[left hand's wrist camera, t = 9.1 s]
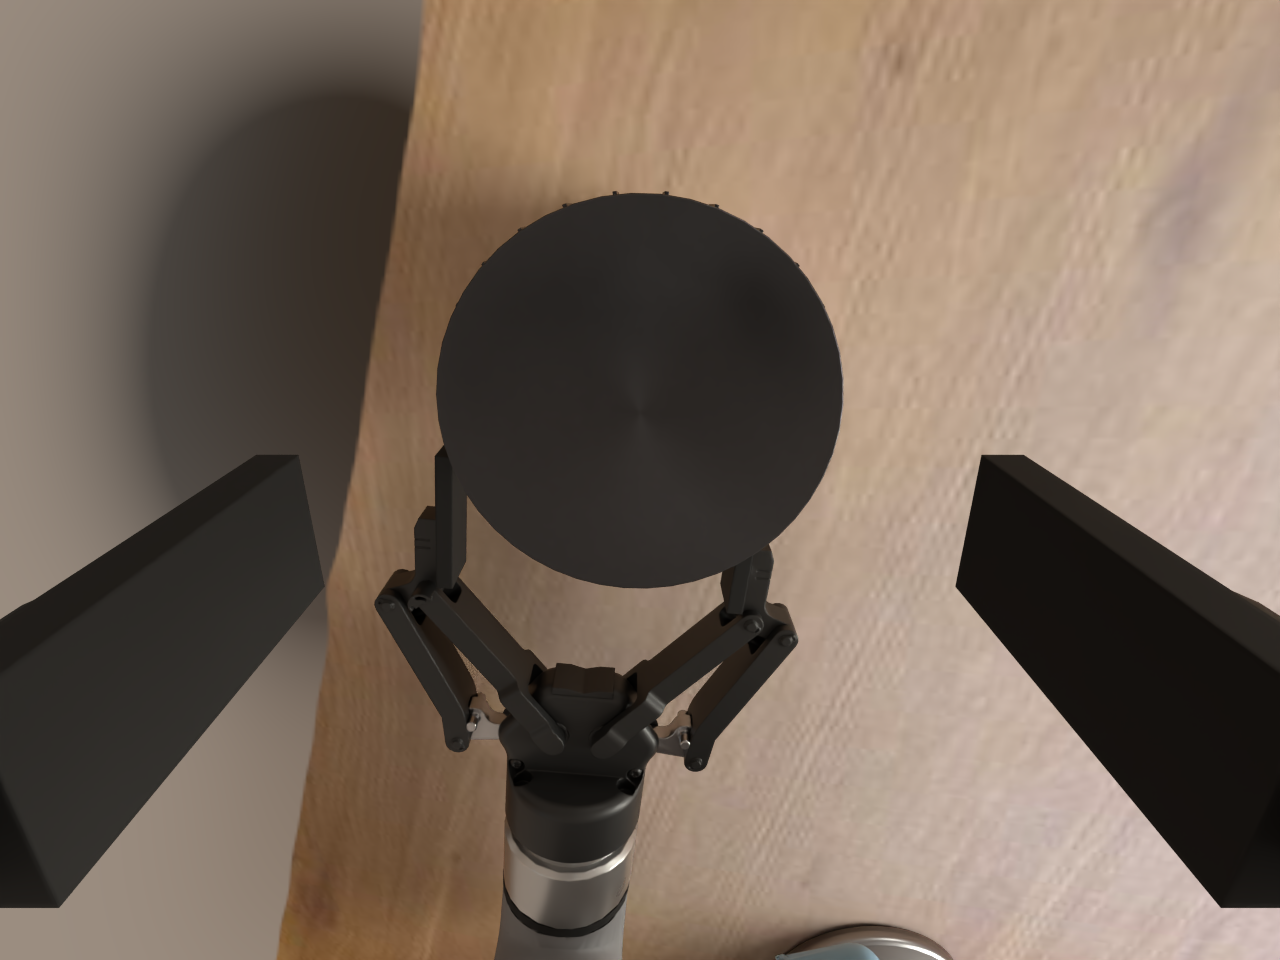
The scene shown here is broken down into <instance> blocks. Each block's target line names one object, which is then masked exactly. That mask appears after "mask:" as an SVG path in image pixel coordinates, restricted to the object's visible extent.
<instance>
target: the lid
mask: <svg viewBox="0 0 1280 960" xmlns="http://www.w3.org/2000/svg"><path fill="white" fill-rule="evenodd" d="M562 206H563V208H562V209H559V210H557V211H555V212H552V213H550V214H548V215H545V216H544V217H542V218H540V219H539V220H537V221H535V222H534V223H532V224H530V225H529V226H527V227H522V228H520V229H518V233H517V234H515V235H514V236H513V237H512V238H511V239H509V240H508V241H507V242H506V243H504V244H503V245H502V246H501V247H499V248H498V249H497V250H496V251H495V253H494V254H493V255H492V256H491V257H490V258H489V259H488V260H487V261H485V262H483V263H482V264H481V265H482V267H481V268H480V269H479V270H478V272H477V273H476V274H475V276H474V277H473V279H472V280H471V282H470V283H469V285H468V286H467V287H466V289H465V290H464V292H463V294H462V296H461V298H460V300H459V302H458V303H457V304H456V308H455V310H454V312H453V314H452V316H451V318H450V321H449V324H448V327H447V330H446V333H445V336H444V339H443V342H442V347H441V352H440V358H439V363H438V368H437V389H436V398H437V409H438V420H439V425H440V429H441V434H442V438H443V442H444V446H445V449H446V452H447V454H448V457H449V460H450V463H451V465H452V468H453V470H454V472H455V474H456V476H457V478H458V480H459V482H460V484H461V485H462V487H463V489H464V491H465V493H466V494H467V495H468V497H469V498H470V500H471V501H472V503H473V504H474V506H475V507H476V508H477V510H478V511H479V512H480V514H481V515H482V516H483V517H484V518H485V519H486V520H487V521H488V522H489V524H490V525H491V526H492V527H493V528H494V529H495V530H496V531H497V532H498V533H499V534H501V535H502V536H503V537H504V538H505V539H506V540H507V541H509V542H510V543H511V544H512V545H513V546H515V547H516V548H518V549H519V550H520V551H522V552H523V553H525V554H526V555H528V556H529V557H531V558H532V559H534V560H536V561H538V562H540V563H542V564H543V565H545V566H547V567H549V568H551V569H553V570H555V571H558V572H560V573H563V574H566V575H568V576H571V577H574V578H576V579H580V580H584V581H588V582H592V583H595V584H599V585H606V586H614V587H621V588H657V587H668V586H674V585H679V584H684V583H689V582H694V581H697V580H700V579H703V578H706V577H709V576H712V575H715V574H718V573H720V572H722V571H724V570H726V569H728V568H731V567H733V566H735V565H737V564H739V563H741V562H742V561H744V560H746V559H747V558H749V557H750V556H752V555H754V554H755V553H757V552H759V551H760V550H761V549H763V548H764V547H765V546H766V545H768V544H769V543H770V542H771V541H773V540H774V539H775V538H776V537H778V536H779V535H780V534H781V533H782V532H783V531H784V530H785V529H786V528H787V527H788V526H789V525H790V524H791V523H792V522H793V521H794V520H795V518H796V517H797V516H798V515H799V513H800V512H801V511H802V509H803V508H804V507H805V505H806V504H807V503H808V502H809V500H810V499H811V497H812V496H813V494H814V492H815V490H816V489H817V487H818V485H819V484H820V482H821V480H822V478H823V476H824V474H825V472H826V469H827V467H828V465H829V462H830V460H831V458H832V455H833V452H834V449H835V445H836V441H837V438H838V434H839V431H840V424H841V417H842V410H843V372H842V364H841V357H840V351H839V347H838V344H837V340H836V336H835V333H834V329H833V326H832V324H831V321H830V319H829V317H828V314H827V312H826V310H825V306H824V304H823V303H822V301H821V299H820V298H819V296H818V294H817V293H816V291H815V289H814V288H813V286H812V284H811V283H810V281H809V280H808V278H807V277H806V276H805V274H804V273H803V272H802V271H801V269H800V268H799V264H798V263H796V262H794V261H793V260H792V259H791V257H790V256H789V255H788V254H787V253H785V252H784V251H783V250H782V249H781V248H780V247H779V246H778V245H777V244H776V243H774V242H773V241H772V240H771V239H770V238H769V237H768V236H766V235H765V234H763V230H762V229H759V228H754V227H753V226H751V225H750V224H748V223H747V222H746V221H744V220H742V219H740V218H738V217H736V216H734V215H732V214H730V213H727V212H725V211H723V210H721V209H719V208H718V207H719V205H717V204H709V205H707V204H704V203H701V202H698V201H695V200H692V199H688V198H682V197H676V196H670V195H669V192H667V191H665V192H663V194H648V193H627V194H619V192H617V191H613V195H609V196H601V197H597V198H593V199H590V200H586V201H582V202H578V203H574V204H563V205H562Z"/></svg>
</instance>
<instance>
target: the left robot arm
mask: <svg viewBox="0 0 1280 960" xmlns="http://www.w3.org/2000/svg"><path fill="white" fill-rule="evenodd" d="M955 587H956V588H957V589H958V590H959V591H960V593H961V594H962V595H963V596H964V597H965V599H966V600H967V601H968V602H969V603H970V605H971V606H972V607H973V608H974V610H975V611H976V612H977V613H978V614H979V616H980V617H981V618H982V619H983V620H984V622H985V623H986V624H987V625H988V626H989V628H990V629H991V630H992V631H993V633H994V634H995V635H996V636H997V637H998V639H999V640H1000V641H1001V642H1002V643H1003V645H1004V646H1005V647H1006V648H1007V649H1008V651H1009V652H1010V653H1011V654H1012V656H1013V657H1014V658H1015V659H1016V660H1017V662H1018V663H1019V664H1020V665H1021V666H1022V668H1023V669H1024V670H1025V671H1026V672H1027V674H1028V675H1029V676H1030V677H1031V679H1032V680H1033V681H1034V682H1035V683H1036V685H1037V686H1038V687H1039V688H1040V689H1041V691H1042V692H1043V693H1044V694H1045V695H1046V697H1047V698H1048V699H1049V700H1050V702H1051V703H1052V704H1053V705H1054V706H1055V708H1056V709H1057V710H1058V711H1059V712H1060V714H1061V715H1062V716H1063V717H1064V718H1065V720H1066V721H1067V722H1068V723H1069V725H1070V726H1071V727H1072V728H1073V729H1074V731H1075V732H1076V733H1077V734H1078V735H1079V737H1080V738H1081V739H1082V740H1083V741H1084V743H1085V744H1086V745H1087V746H1088V748H1089V749H1090V750H1091V751H1092V752H1093V754H1094V755H1095V756H1096V757H1097V758H1098V760H1099V761H1100V762H1101V763H1102V764H1103V766H1104V767H1105V768H1106V769H1107V771H1108V772H1109V773H1110V774H1111V775H1112V777H1113V778H1114V779H1115V780H1116V781H1117V783H1118V784H1119V785H1120V786H1121V787H1122V789H1123V790H1124V791H1125V792H1126V794H1127V795H1128V796H1129V797H1130V798H1131V800H1132V801H1133V802H1134V803H1135V804H1136V806H1137V807H1138V808H1139V809H1140V810H1141V812H1142V813H1143V814H1144V815H1145V817H1146V818H1147V819H1148V820H1149V821H1150V823H1151V824H1152V825H1153V826H1154V827H1155V829H1156V830H1157V831H1158V832H1159V833H1160V835H1161V836H1162V837H1163V838H1164V840H1165V841H1166V842H1167V843H1168V844H1169V846H1170V847H1171V848H1172V849H1173V850H1174V852H1175V853H1176V854H1177V855H1178V856H1179V858H1180V859H1181V860H1182V861H1183V863H1184V864H1185V865H1186V866H1187V867H1188V869H1189V870H1190V871H1191V872H1192V873H1193V875H1194V876H1195V877H1196V878H1197V879H1198V881H1199V882H1200V883H1201V884H1202V886H1203V887H1204V888H1205V889H1206V890H1207V892H1208V893H1209V894H1210V895H1211V896H1212V898H1213V899H1214V900H1215V901H1216V902H1217V904H1218V905H1219V906H1220V907H1221V908H1280V616H1279V615H1277V614H1276V613H1274V612H1273V611H1271V610H1270V609H1268V608H1267V607H1265V606H1263V605H1262V604H1260V603H1259V602H1256V601H1254V600H1252V599H1249V598H1247V597H1245V596H1243V595H1240V594H1238V593H1236V592H1233V591H1231V590H1230V589H1228V588H1227V587H1225V586H1224V585H1222V584H1221V583H1219V582H1218V581H1216V580H1215V579H1213V578H1212V577H1210V576H1208V575H1207V574H1205V573H1204V572H1202V571H1201V570H1199V569H1198V568H1196V567H1195V566H1193V565H1192V564H1190V563H1189V562H1187V561H1185V560H1184V559H1182V558H1181V557H1179V556H1178V555H1176V554H1175V553H1173V552H1172V551H1170V550H1169V549H1167V548H1166V547H1164V546H1163V545H1161V544H1159V543H1158V542H1156V541H1155V540H1153V539H1152V538H1150V537H1149V536H1147V535H1146V534H1144V533H1143V532H1141V531H1140V530H1138V529H1136V528H1135V527H1133V526H1132V525H1130V524H1129V523H1127V522H1126V521H1124V520H1123V519H1121V518H1120V517H1118V516H1117V515H1115V514H1113V513H1112V512H1110V511H1109V510H1107V509H1106V508H1104V507H1103V506H1101V505H1100V504H1098V503H1097V502H1095V501H1094V500H1092V499H1090V498H1089V497H1087V496H1086V495H1084V494H1083V493H1081V492H1080V491H1078V490H1077V489H1075V488H1074V487H1072V486H1071V485H1069V484H1067V483H1066V482H1064V481H1063V480H1061V479H1060V478H1058V477H1057V476H1055V475H1054V474H1052V473H1051V472H1049V471H1048V470H1046V469H1044V468H1043V467H1041V466H1040V465H1038V464H1037V463H1035V462H1034V461H1032V460H1031V459H1029V458H1028V457H1026V456H1025V455H981V460H980V466H979V471H978V476H977V481H976V486H975V491H974V496H973V501H972V506H971V511H970V516H969V521H968V526H967V531H966V536H965V541H964V546H963V551H962V556H961V561H960V566H959V571H958V576H957V581H956V586H955ZM323 588H324V581H323V576H322V571H321V566H320V561H319V556H318V551H317V546H316V541H315V536H314V531H313V526H312V521H311V516H310V511H309V506H308V501H307V496H306V491H305V486H304V481H303V476H302V471H301V466H300V460H299V456H298V455H256V456H254V457H252V458H251V459H249V460H248V461H246V462H245V463H243V464H242V465H240V466H239V467H237V468H236V469H234V470H233V471H231V472H229V473H228V474H226V475H225V476H223V477H222V478H220V479H219V480H217V481H216V482H214V483H213V484H211V485H210V486H208V487H206V488H205V489H203V490H202V491H200V492H199V493H197V494H196V495H194V496H193V497H191V498H190V499H188V500H186V501H185V502H183V503H182V504H180V505H179V506H177V507H176V508H174V509H173V510H171V511H170V512H168V513H167V514H165V515H164V516H162V517H160V518H159V519H157V520H156V521H154V522H153V523H151V524H150V525H148V526H147V527H145V528H144V529H142V530H141V531H139V532H138V533H136V534H134V535H133V536H131V537H130V538H128V539H127V540H125V541H124V542H122V543H121V544H119V545H118V546H116V547H114V548H113V549H111V550H110V551H108V552H107V553H105V554H104V555H102V556H101V557H99V558H98V559H96V560H95V561H93V562H91V563H90V564H88V565H87V566H85V567H84V568H82V569H81V570H79V571H78V572H76V573H75V574H73V575H72V576H70V577H68V578H67V579H65V580H64V581H62V582H61V583H59V584H58V585H56V586H55V587H53V588H52V589H50V590H49V591H47V592H46V593H44V594H42V595H41V596H39V597H38V598H36V599H35V600H33V601H31V602H28V603H26V604H24V605H22V606H20V607H19V608H17V609H16V610H14V611H12V612H11V613H9V614H8V615H6V616H5V617H3V618H2V619H0V908H59V907H60V906H61V905H62V904H63V902H64V901H65V900H66V899H67V898H68V896H69V895H70V894H71V893H72V892H73V890H74V889H75V888H76V887H77V886H78V884H79V883H80V882H81V881H82V879H83V878H84V877H85V876H86V875H87V873H88V872H89V871H90V870H91V868H92V867H93V866H94V865H95V864H96V863H97V861H98V860H99V859H100V858H101V856H102V855H103V854H104V853H105V852H106V850H107V849H108V848H109V847H110V846H111V844H112V843H113V842H114V841H115V840H116V838H117V837H118V836H119V835H120V833H121V832H122V831H123V830H124V829H125V827H126V826H127V825H128V824H129V823H130V821H131V820H132V819H133V818H134V817H135V815H136V814H137V813H138V812H139V810H140V809H141V808H142V807H143V806H144V804H145V803H146V802H147V801H148V799H149V798H150V797H151V796H152V795H153V793H154V792H155V791H156V790H157V789H158V787H159V786H160V785H161V784H162V783H163V781H164V780H165V779H166V778H167V777H168V775H169V774H170V773H171V772H172V771H173V769H174V768H175V767H176V766H177V764H178V763H179V762H180V761H181V760H182V758H183V757H184V756H185V755H186V754H187V752H188V751H189V750H190V749H191V748H192V746H193V745H194V744H195V743H196V741H197V740H198V739H199V738H200V737H201V735H202V734H203V733H204V732H205V731H206V729H207V728H208V727H209V726H210V724H211V723H212V722H213V721H214V720H215V718H216V717H217V716H218V715H219V714H220V712H221V711H222V710H223V709H224V708H225V706H226V705H227V704H228V703H229V701H230V700H231V699H232V698H233V697H234V695H235V694H236V693H237V692H238V691H239V689H240V688H241V687H242V686H243V685H244V683H245V682H246V681H247V680H248V679H249V677H250V676H251V675H252V674H253V672H254V671H255V670H256V669H257V668H258V666H259V665H260V664H261V663H262V662H263V660H264V659H265V658H266V657H267V655H268V654H269V653H270V652H271V651H272V649H273V648H274V647H275V646H276V645H277V643H278V642H279V641H280V640H281V639H282V637H283V636H284V635H285V634H286V633H287V631H288V630H289V629H290V628H291V626H292V625H293V624H294V623H295V622H296V620H297V619H298V618H299V617H300V616H301V614H302V613H303V612H304V611H305V610H306V608H307V607H308V606H309V605H310V603H311V602H312V601H313V600H314V599H315V597H316V596H317V595H318V594H319V593H320V591H321V590H322V589H323Z"/></svg>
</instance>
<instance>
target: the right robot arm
mask: <svg viewBox="0 0 1280 960" xmlns="http://www.w3.org/2000/svg"><path fill="white" fill-rule="evenodd" d="M466 520H467V494H466V493H465V491H464V489H463V487H462V485H461V484H460V482H459V480H458V478H457V476H456V474H455V472H454V470H453V468H452V465H451V463H450V460H449V457H448V454H447V452H446V449H445V446H443V447H442V448H441V449H440V450H439V452H438V453H437V454H436V455H435V507H433V506H427V507H426V509H425V510H424V511H423V513H422V514H421V516H420V517H419V518H418V521H417V523H416V525H415V527H414V538H415V570H413V571H408V570H405V569H400V570H397V571H395V572H394V573H393V575H392V576H391V577H390V579H389V580H388V582H387V583H386V585H385V586H384V588H383V589H382V591H381V592H380V594H379V596H378V597H377V599H376V600H375V608H376V610H377V612H378V613H379V615H380V617H381V618H382V620H383V622H384V623H385V625H386V626H387V628H388V630H389V631H390V633H391V635H392V636H393V638H394V640H395V641H396V643H397V645H398V646H399V648H400V649H401V651H402V653H403V654H404V656H405V658H406V659H407V661H408V663H409V664H410V666H411V668H412V669H413V671H414V673H415V674H416V676H417V677H418V679H419V681H420V682H421V684H422V686H423V687H424V689H425V691H426V692H427V694H428V696H429V697H430V699H431V701H432V702H433V704H434V705H435V707H436V709H437V710H438V712H439V714H440V715H441V717H442V722H443V729H444V735H445V742H446V745H447V747H448V748H449V749H450V750H452V751H454V752H463V751H465V750H466V749H467V748H468V746H469V743H470V740H471V739H499V740H500V742H501V744H502V745H503V747H504V748H505V750H506V753H507V778H506V804H505V812H506V818H505V826H504V869H503V898H502V910H501V922H500V930H499V937H498V943H497V948H496V954H495V959H494V960H622V945H623V930H624V921H625V911H626V900H627V891H628V887H629V881H630V877H631V872H632V864H633V857H634V849H635V841H636V833H637V822H638V818H639V812H640V805H641V798H642V790H643V783H644V776H645V768H646V765H647V763H648V761H649V760H650V759H651V758H652V757H653V756H654V754H655V753H656V752H657V753H663V754H669V755H675V756H680V757H684V765H685V767H686V768H687V769H688V770H690V771H694V772H698V771H701V770H703V769H704V768H705V767H706V765H707V763H708V760H709V757H710V754H711V751H712V748H713V745H714V742H715V740H716V739H717V737H718V736H719V735H720V734H721V733H722V732H723V730H724V729H725V728H726V727H727V726H728V725H729V723H730V722H731V721H732V720H733V719H734V718H735V716H736V715H737V714H738V713H739V712H740V711H741V709H742V708H743V707H744V706H745V705H746V704H747V702H748V701H749V700H750V699H751V698H752V697H753V696H754V694H755V693H756V692H757V691H758V690H759V689H760V687H761V686H762V685H763V684H764V683H765V682H766V680H767V679H768V678H769V677H770V676H771V675H772V673H773V672H774V671H775V670H776V669H777V668H778V666H779V665H780V664H781V663H782V662H783V661H784V659H785V658H786V657H787V656H788V655H789V654H790V652H791V651H792V650H793V649H794V648H795V647H796V645H797V643H798V636H797V634H796V631H795V628H794V625H793V622H792V620H791V617H790V614H789V612H788V609H787V607H786V606H785V605H783V604H780V603H774V604H771V603H768V602H767V601H766V599H767V594H768V589H769V584H770V579H771V574H772V569H773V564H774V560H773V555H772V551H771V549H770V546H769V544H768V545H766V546H765V547H764V548H763V549H761V550H760V551H759V552H757V553H755V554H754V555H752V556H750V557H749V558H747V559H746V560H744V561H742V562H741V563H739V564H737V565H735V566H733V567H731V568H728V569H726V570H724V571H722V577H721V583H720V584H721V589H722V594H723V598H724V602H723V603H722V604H720V605H719V606H718V607H716V608H715V609H714V610H713V611H711V612H710V613H709V614H708V615H706V616H705V617H704V618H703V619H701V620H700V621H699V622H698V623H696V624H695V625H694V626H693V627H691V628H690V629H689V630H687V631H686V632H685V633H684V634H682V635H681V636H680V637H679V638H677V639H676V640H675V641H674V642H672V643H671V644H670V645H669V646H667V647H666V648H665V649H664V650H662V651H661V652H660V653H658V654H657V655H656V656H655V657H653V658H652V659H651V660H649V661H647V660H643V661H641V662H640V663H639V664H637V665H636V666H635V667H634V668H632V669H631V670H630V671H628V672H627V673H626V674H625V675H623V676H622V675H620V674H618V673H615V668H610V667H595V668H587V669H585V668H581V667H578V666H575V665H572V664H563V663H557V664H556V667H555V668H550V669H547V668H546V667H545V666H544V665H543V664H542V662H541V661H540V660H539V659H538V658H537V657H536V656H535V655H534V653H533V652H532V651H530V650H524V649H523V648H522V647H521V646H520V645H519V644H518V643H517V642H516V641H515V640H514V638H513V637H512V636H511V635H510V634H509V633H508V632H507V631H506V629H505V628H504V627H503V626H502V625H501V624H500V623H499V622H498V621H497V619H496V618H495V617H494V616H493V615H492V614H491V613H490V612H489V610H488V609H487V608H486V607H485V606H484V605H483V604H482V603H481V602H480V600H479V599H478V598H477V597H476V596H475V595H474V594H473V593H472V592H471V590H470V589H469V588H468V587H467V586H466V585H465V584H464V583H463V581H462V580H461V579H460V578H459V577H458V576H459V574H460V572H461V570H462V568H463V566H464V564H465V562H466ZM453 644H454V645H455V646H456V647H457V648H458V649H459V650H460V651H461V652H462V653H463V654H464V655H465V657H466V658H467V659H468V660H469V661H470V662H471V663H472V664H473V665H474V666H475V667H476V668H477V669H478V670H479V671H480V673H481V674H482V675H483V676H484V677H485V678H486V679H487V680H488V681H489V682H490V683H491V684H492V685H493V686H494V687H495V689H496V690H497V692H498V695H499V699H500V702H501V703H502V705H503V706H504V707H505V710H504V712H503V713H499V712H496V711H494V710H492V709H491V708H490V706H489V704H488V702H487V701H486V695H485V694H483V693H477V692H476V687H475V684H474V681H473V679H472V677H471V675H470V673H469V671H468V669H467V667H466V666H465V664H464V662H463V660H462V659H461V657H460V655H459V653H458V652H457V650H456V648H455V646H454V645H453ZM721 662H722V663H721ZM720 663H721V665H720V666H719V667H718V668H717V670H716V671H715V672H714V673H713V674H712V676H711V677H710V678H709V679H708V681H707V682H706V683H705V684H704V685H703V687H702V688H701V689H700V690H699V692H698V693H697V694H696V696H695V697H694V698H693V700H692V702H691V704H690V706H689V708H688V711H685V710H680V711H679V712H678V714H677V717H675V718H674V720H673V721H672V723H670V724H669V725H667V726H658V723H657V721H656V719H657V718H658V717H659V716H660V715H661V714H662V713H663V710H664V708H665V706H666V705H667V704H668V703H669V702H670V701H672V700H673V699H674V698H676V697H677V696H678V695H679V694H681V693H682V692H683V691H685V690H686V689H687V688H689V687H690V686H691V685H693V684H694V683H695V682H697V681H698V680H699V679H700V678H702V677H703V676H704V675H706V674H707V673H708V672H710V671H711V670H712V669H714V668H715V667H716V666H717V665H719V664H720ZM775 959H776V960H953V959H952V957H951V956H950V955H949V954H948V952H947V951H946V950H945V949H944V948H942V947H941V946H940V945H939V944H937V943H936V942H934V941H933V940H931V939H929V938H927V937H925V936H923V935H920V934H918V933H915V932H912V931H909V930H905V929H900V928H894V927H886V926H860V927H851V928H845V929H840V930H836V931H832V932H829V933H825V934H822V935H820V936H817V937H815V938H812V939H810V940H808V941H806V942H804V943H802V944H801V945H799V946H797V947H796V948H794V949H793V950H791V951H790V952H789V953H787V954H786V955H784V954H780V955H777V956H775Z"/></svg>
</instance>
